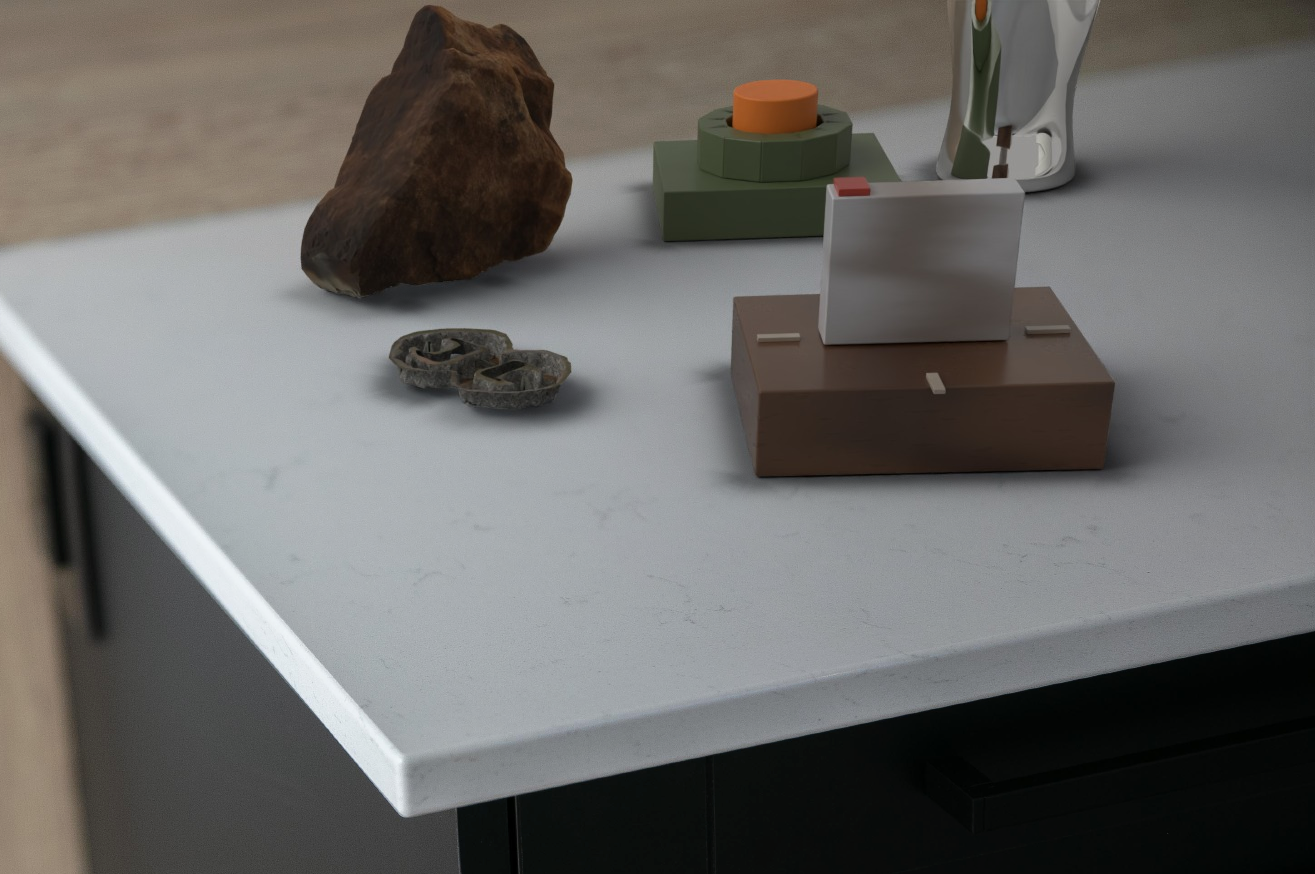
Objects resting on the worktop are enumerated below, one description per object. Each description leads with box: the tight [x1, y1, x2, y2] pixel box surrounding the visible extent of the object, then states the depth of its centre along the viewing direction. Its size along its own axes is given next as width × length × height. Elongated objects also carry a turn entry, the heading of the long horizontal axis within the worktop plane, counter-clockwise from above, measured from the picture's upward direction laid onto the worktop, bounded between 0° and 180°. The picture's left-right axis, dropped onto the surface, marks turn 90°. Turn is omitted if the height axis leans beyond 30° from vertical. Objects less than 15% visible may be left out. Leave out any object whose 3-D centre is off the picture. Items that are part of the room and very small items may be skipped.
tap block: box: [730, 286, 1116, 478], centre depth 67 cm, size 11×10×3 cm
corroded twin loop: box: [388, 327, 572, 410], centre depth 73 cm, size 5×8×1 cm, turn 38°
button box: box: [652, 104, 902, 242], centre depth 88 cm, size 10×8×4 cm
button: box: [732, 79, 819, 134], centre depth 87 cm, size 4×4×2 cm
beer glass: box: [935, 0, 1101, 193], centre depth 87 cm, size 7×7×15 cm
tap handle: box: [818, 177, 1026, 345], centre depth 65 cm, size 6×2×5 cm, turn 85°
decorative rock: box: [299, 4, 573, 299], centre depth 81 cm, size 12×6×11 cm, turn 120°
